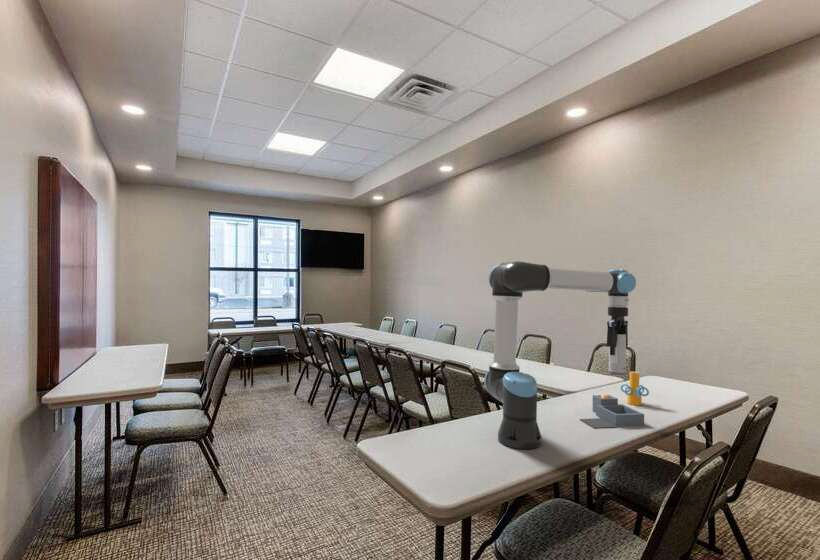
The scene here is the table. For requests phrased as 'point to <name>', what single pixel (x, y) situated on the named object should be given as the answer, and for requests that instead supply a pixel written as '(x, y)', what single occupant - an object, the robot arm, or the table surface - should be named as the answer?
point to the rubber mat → (598, 423)
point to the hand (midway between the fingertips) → (617, 362)
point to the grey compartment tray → (616, 412)
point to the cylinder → (634, 390)
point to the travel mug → (619, 354)
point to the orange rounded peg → (604, 396)
